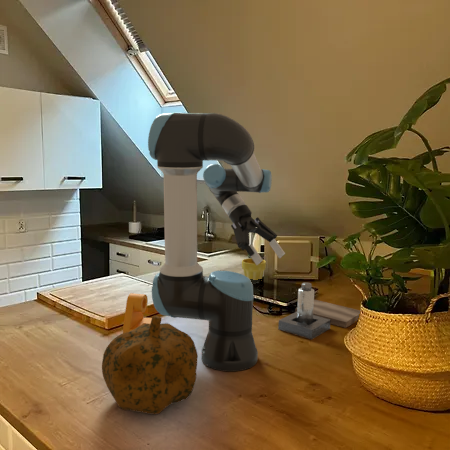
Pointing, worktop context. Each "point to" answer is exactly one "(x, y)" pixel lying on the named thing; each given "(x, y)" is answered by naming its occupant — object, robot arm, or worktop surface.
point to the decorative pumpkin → (150, 367)
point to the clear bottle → (305, 304)
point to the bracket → (135, 312)
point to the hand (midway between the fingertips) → (271, 259)
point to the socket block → (304, 326)
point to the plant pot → (253, 268)
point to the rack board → (335, 313)
